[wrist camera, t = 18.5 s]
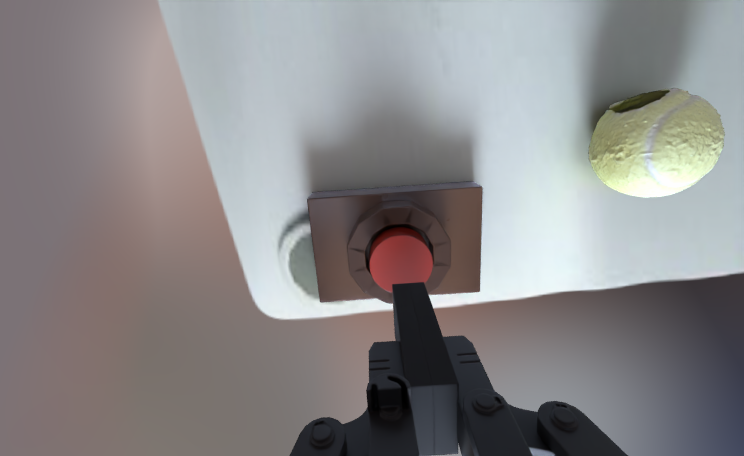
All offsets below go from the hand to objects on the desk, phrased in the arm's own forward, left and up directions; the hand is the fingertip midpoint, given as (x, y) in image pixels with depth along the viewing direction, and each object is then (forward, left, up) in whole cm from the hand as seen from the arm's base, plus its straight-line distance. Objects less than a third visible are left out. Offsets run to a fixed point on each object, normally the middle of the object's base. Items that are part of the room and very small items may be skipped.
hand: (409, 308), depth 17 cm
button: (0, 0, -7) cm, 7 cm away
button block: (0, 0, -11) cm, 11 cm away
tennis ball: (+16, +6, -11) cm, 20 cm away
